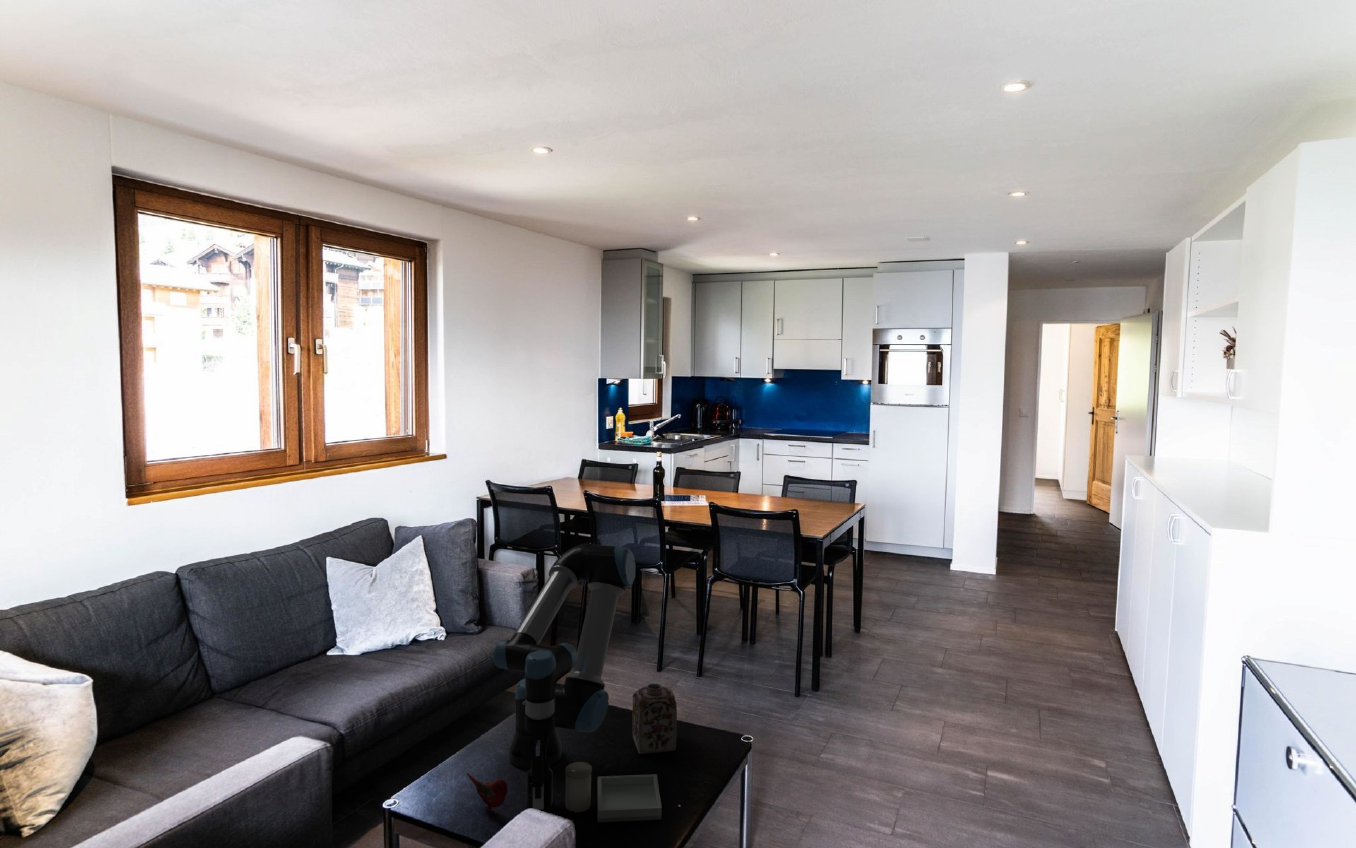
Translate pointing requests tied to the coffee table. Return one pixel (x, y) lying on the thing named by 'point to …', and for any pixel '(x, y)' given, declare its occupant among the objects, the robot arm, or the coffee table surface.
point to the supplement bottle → (547, 786)
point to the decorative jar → (654, 719)
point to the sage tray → (628, 798)
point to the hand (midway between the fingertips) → (539, 800)
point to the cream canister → (578, 786)
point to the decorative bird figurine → (491, 792)
